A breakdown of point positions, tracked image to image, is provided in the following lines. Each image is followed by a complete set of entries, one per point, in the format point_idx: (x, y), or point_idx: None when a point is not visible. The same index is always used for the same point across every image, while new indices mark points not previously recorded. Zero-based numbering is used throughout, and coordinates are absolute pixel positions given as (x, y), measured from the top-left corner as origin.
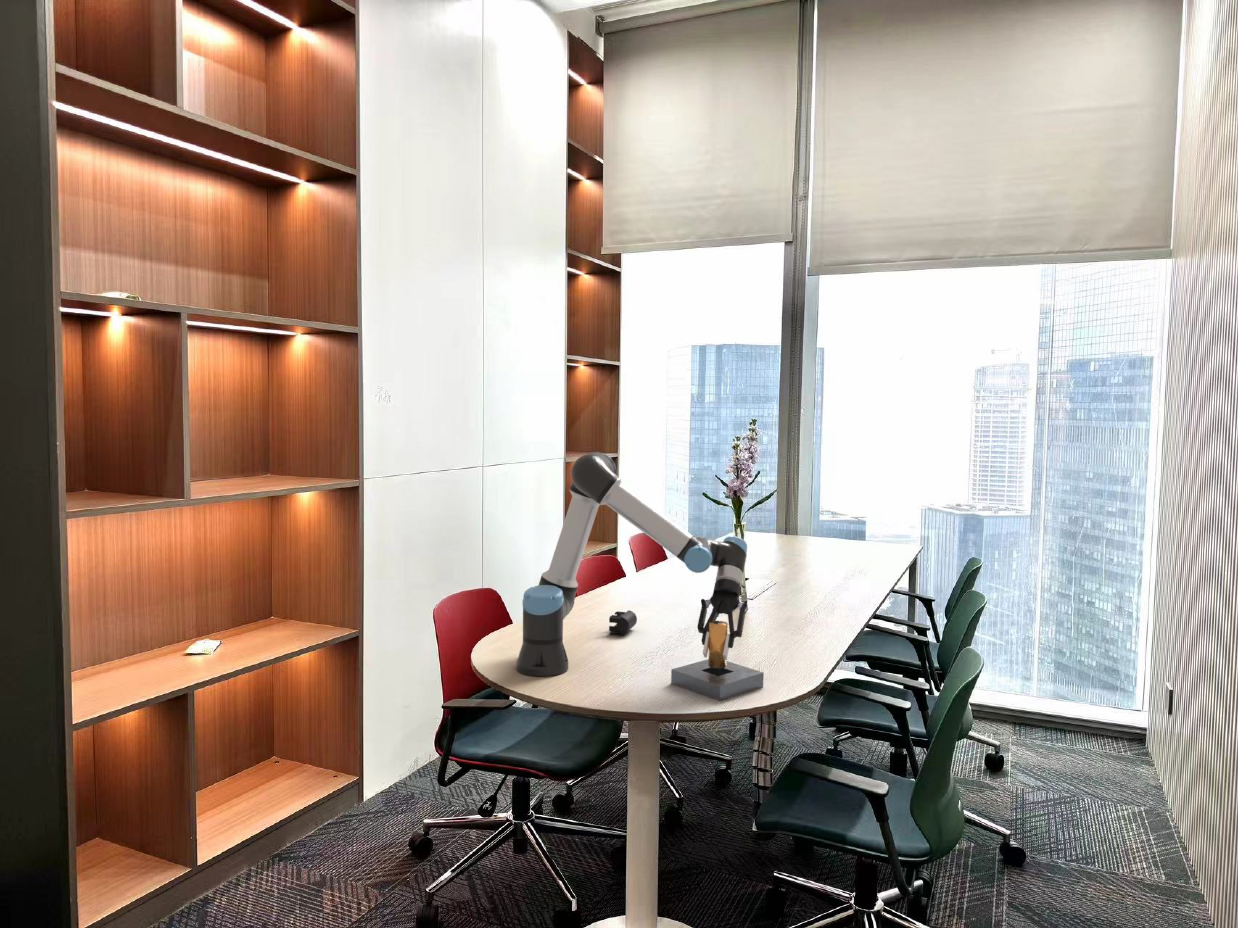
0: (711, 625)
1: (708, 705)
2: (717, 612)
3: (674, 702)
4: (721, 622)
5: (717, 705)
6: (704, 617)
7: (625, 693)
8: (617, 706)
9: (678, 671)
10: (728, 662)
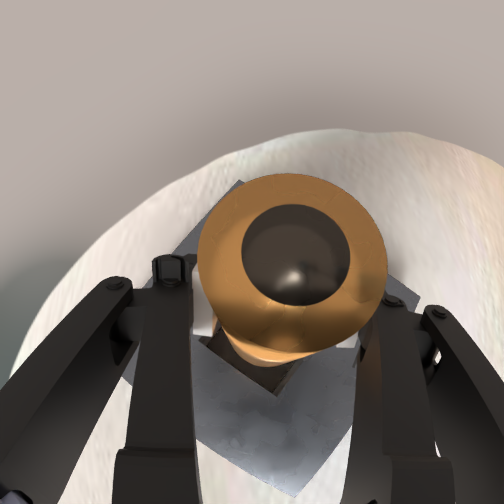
0: (346, 201)
1: (265, 172)
2: (359, 500)
3: (346, 175)
4: (266, 278)
5: (243, 176)
6: (458, 415)
7: (452, 209)
8: (427, 146)
9: (395, 282)
10: (230, 451)
